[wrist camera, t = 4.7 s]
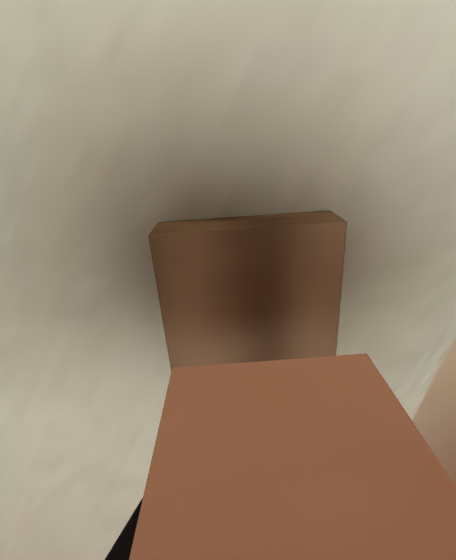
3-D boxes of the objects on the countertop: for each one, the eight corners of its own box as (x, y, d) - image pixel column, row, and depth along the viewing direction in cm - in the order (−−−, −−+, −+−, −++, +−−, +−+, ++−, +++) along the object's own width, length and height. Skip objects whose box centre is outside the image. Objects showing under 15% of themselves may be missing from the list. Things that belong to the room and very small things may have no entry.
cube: (195, 493, 10) (172, 776, 6) (172, 367, 8) (110, 646, 4) (352, 483, 10) (457, 764, 6) (366, 353, 8) (547, 622, 4)
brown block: (179, 361, 20) (174, 389, 18) (158, 222, 17) (148, 235, 15) (321, 352, 20) (333, 379, 18) (329, 210, 17) (346, 221, 15)
